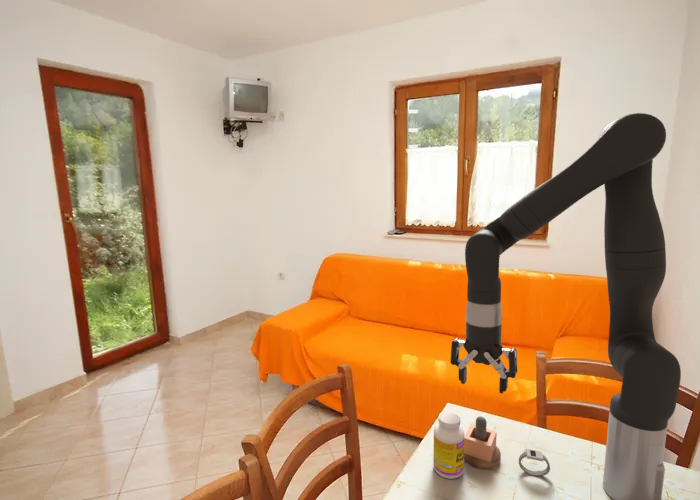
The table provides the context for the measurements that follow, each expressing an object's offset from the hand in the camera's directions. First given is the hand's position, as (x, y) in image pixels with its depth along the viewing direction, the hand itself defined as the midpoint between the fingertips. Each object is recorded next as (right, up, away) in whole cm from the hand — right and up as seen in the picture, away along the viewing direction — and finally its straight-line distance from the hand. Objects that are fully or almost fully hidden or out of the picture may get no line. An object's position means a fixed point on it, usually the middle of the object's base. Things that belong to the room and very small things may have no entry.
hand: (482, 387), depth 89 cm
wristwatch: (+10, -18, -3) cm, 21 cm away
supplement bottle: (-8, -18, -1) cm, 20 cm away
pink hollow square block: (0, -16, +3) cm, 16 cm away
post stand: (0, -17, +3) cm, 18 cm away
